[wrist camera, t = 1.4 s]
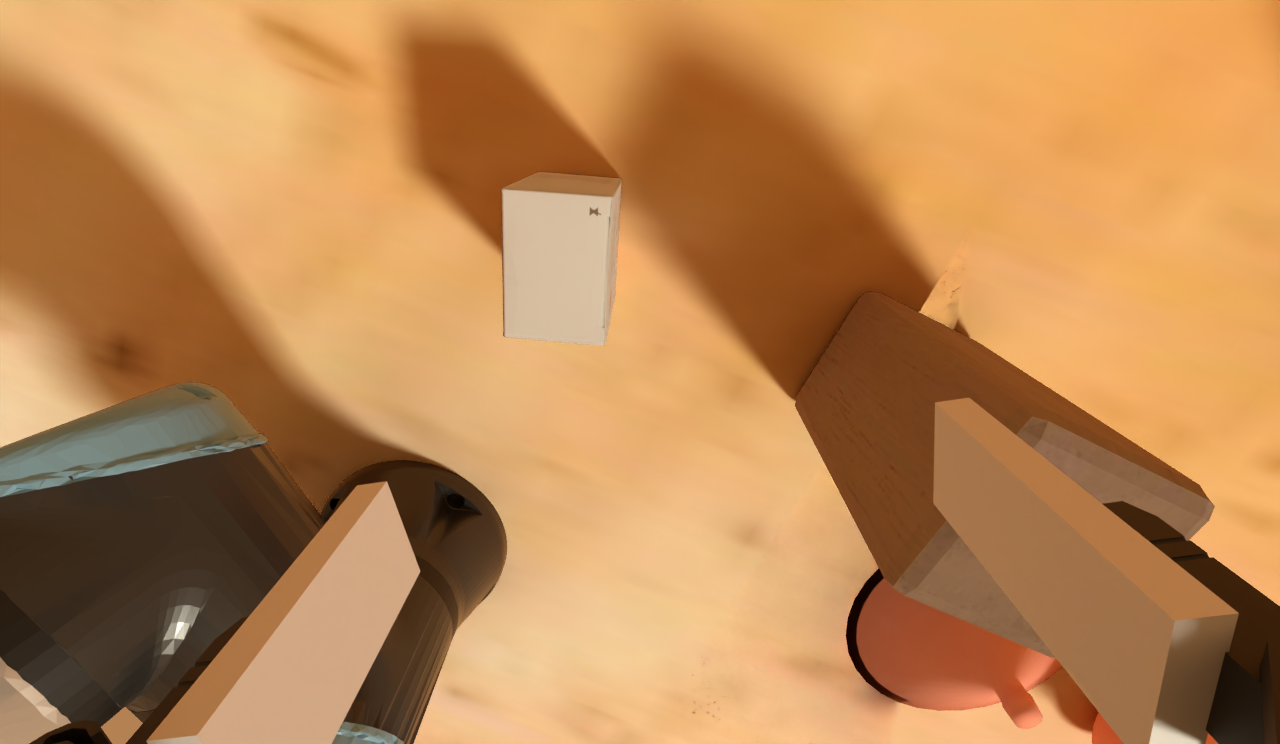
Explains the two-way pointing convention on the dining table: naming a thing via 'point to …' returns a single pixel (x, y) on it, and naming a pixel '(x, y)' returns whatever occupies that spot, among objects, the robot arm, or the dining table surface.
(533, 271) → the small box
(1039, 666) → the ceramic vessels
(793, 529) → the dining table surface
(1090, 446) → the block
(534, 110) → the dining table surface
